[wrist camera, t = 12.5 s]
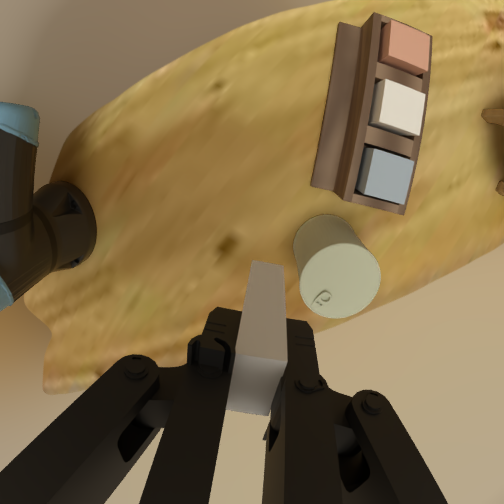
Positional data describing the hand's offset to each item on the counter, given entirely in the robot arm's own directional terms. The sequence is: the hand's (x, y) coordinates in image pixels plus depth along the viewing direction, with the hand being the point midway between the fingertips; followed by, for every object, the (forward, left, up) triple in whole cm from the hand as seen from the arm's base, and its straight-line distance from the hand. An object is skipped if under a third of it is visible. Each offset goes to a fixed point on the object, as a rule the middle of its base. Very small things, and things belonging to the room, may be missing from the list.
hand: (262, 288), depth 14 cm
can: (+9, -6, -27) cm, 29 cm away
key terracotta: (+12, +22, -24) cm, 34 cm away
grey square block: (+12, +6, -24) cm, 27 cm away
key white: (+12, +14, -24) cm, 30 cm away
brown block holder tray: (+12, +14, -26) cm, 32 cm away
